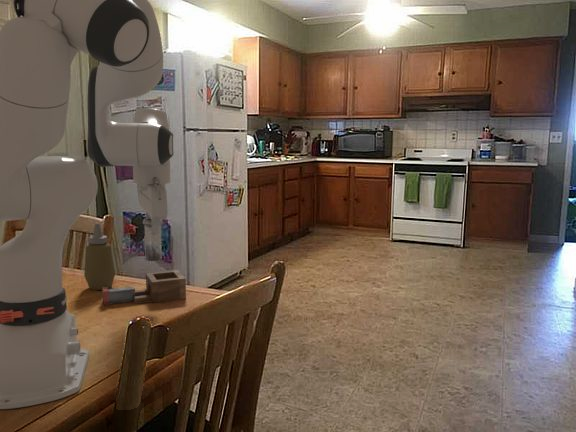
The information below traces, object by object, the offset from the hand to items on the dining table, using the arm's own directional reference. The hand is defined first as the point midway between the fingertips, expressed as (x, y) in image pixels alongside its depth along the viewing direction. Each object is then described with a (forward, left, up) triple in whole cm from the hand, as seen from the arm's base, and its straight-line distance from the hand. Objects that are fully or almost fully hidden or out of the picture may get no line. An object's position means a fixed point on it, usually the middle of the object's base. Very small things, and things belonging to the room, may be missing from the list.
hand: (153, 230), depth 129 cm
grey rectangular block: (+3, +8, -19) cm, 21 cm away
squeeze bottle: (+17, +12, -19) cm, 28 cm away
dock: (+3, -1, -19) cm, 19 cm away
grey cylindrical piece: (0, 0, -7) cm, 7 cm away
